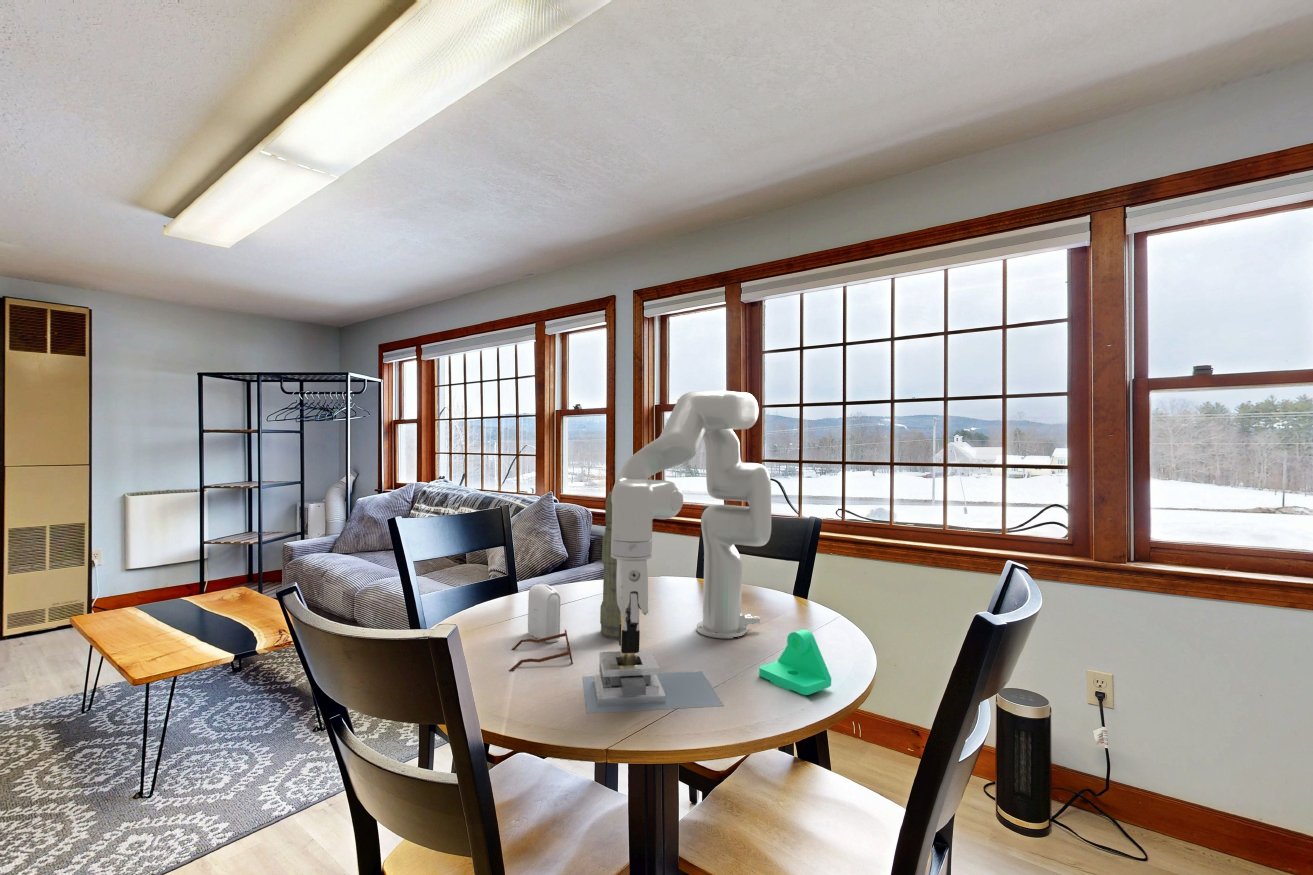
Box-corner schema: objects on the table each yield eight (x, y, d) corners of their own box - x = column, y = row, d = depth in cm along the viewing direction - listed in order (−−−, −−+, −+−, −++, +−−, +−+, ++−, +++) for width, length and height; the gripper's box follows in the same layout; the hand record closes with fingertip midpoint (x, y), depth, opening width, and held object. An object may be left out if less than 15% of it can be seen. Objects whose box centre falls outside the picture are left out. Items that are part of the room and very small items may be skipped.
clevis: (655, 678, 115) (655, 649, 115) (668, 708, 101) (669, 675, 101) (593, 681, 112) (594, 651, 113) (598, 712, 99) (599, 679, 99)
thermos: (623, 624, 151) (626, 488, 152) (645, 637, 141) (648, 491, 142) (591, 628, 147) (595, 488, 148) (612, 643, 137) (615, 492, 137)
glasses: (573, 669, 121) (574, 645, 121) (508, 673, 118) (509, 648, 118) (568, 648, 134) (569, 626, 134) (509, 651, 131) (510, 629, 131)
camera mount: (756, 680, 117) (757, 628, 117) (782, 672, 121) (783, 622, 122) (805, 701, 107) (806, 645, 108) (831, 692, 112) (832, 637, 112)
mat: (701, 674, 119) (701, 671, 119) (724, 709, 103) (724, 705, 103) (582, 679, 115) (582, 676, 115) (586, 716, 99) (586, 713, 99)
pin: (636, 672, 110) (638, 593, 111) (639, 680, 107) (641, 598, 107) (616, 673, 110) (618, 593, 110) (618, 680, 106) (621, 598, 106)
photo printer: (525, 633, 142) (526, 581, 143) (540, 629, 145) (542, 579, 145) (545, 644, 134) (547, 590, 135) (562, 641, 137) (563, 588, 137)
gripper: (659, 556, 101) (656, 664, 101) (644, 542, 117) (642, 634, 117) (615, 557, 100) (612, 665, 100) (607, 542, 116) (604, 635, 116)
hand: (628, 648), depth 108 cm, fingers closed on pin, 3 cm apart
